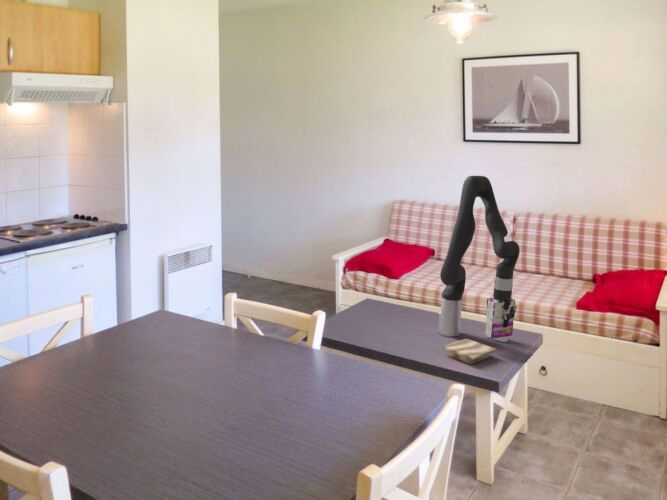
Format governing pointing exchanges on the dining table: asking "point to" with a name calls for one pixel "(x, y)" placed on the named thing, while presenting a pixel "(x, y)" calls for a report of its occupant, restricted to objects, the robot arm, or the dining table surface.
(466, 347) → the stand
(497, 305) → the candy bar box
